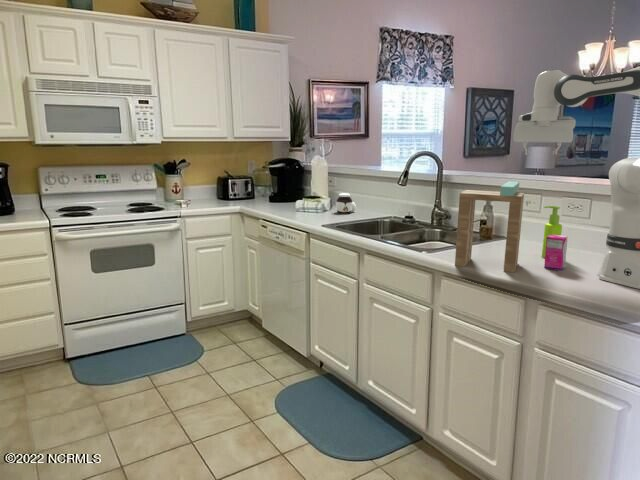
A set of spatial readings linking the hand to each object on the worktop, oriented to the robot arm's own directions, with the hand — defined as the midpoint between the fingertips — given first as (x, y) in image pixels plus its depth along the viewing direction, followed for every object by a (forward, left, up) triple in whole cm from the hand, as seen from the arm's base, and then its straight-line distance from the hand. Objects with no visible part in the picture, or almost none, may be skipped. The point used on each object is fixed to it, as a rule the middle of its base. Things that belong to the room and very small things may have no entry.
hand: (540, 154), depth 182 cm
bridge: (-5, +24, -39) cm, 46 cm away
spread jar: (+130, +24, -39) cm, 138 cm away
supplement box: (-16, +4, -39) cm, 43 cm away
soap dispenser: (-3, -6, -39) cm, 40 cm away
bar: (-5, +17, -13) cm, 22 cm away
